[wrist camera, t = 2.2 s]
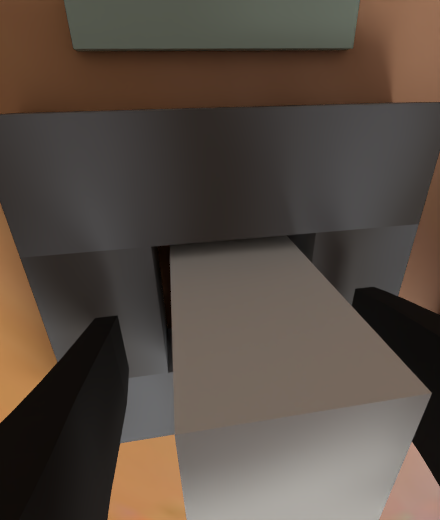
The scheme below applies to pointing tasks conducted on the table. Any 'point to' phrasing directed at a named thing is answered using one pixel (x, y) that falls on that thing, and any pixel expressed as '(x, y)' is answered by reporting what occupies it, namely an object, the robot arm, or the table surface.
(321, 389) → the block
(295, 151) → the pocket board
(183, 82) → the table surface
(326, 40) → the mat
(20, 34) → the table surface
